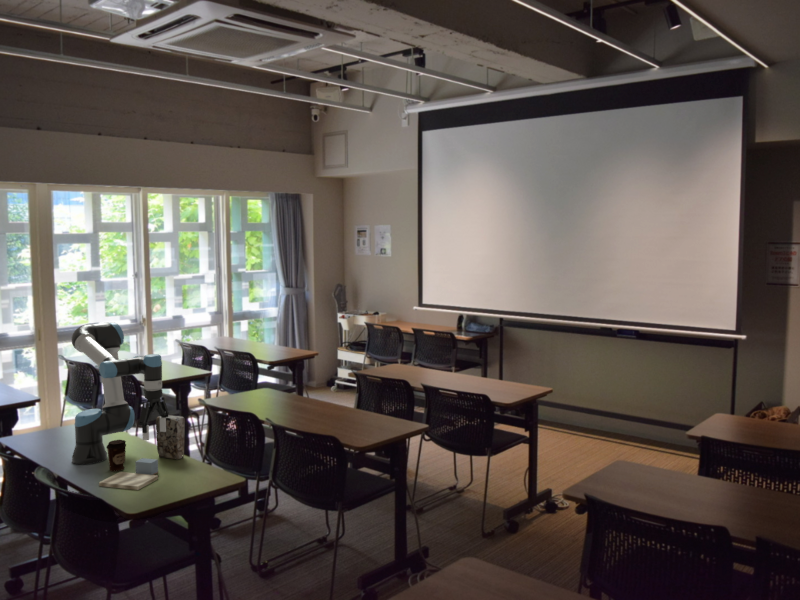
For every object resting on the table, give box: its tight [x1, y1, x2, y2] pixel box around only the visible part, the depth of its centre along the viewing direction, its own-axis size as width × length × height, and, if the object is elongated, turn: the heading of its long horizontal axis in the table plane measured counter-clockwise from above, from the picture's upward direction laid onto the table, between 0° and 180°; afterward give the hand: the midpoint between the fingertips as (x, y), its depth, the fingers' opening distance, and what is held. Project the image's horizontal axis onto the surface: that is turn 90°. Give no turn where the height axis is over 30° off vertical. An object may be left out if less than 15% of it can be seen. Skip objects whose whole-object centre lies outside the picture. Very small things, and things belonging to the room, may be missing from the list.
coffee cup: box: [105, 439, 127, 472], centre depth 304 cm, size 9×8×13 cm
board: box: [98, 471, 159, 491], centre depth 288 cm, size 19×14×2 cm
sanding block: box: [135, 457, 159, 475], centre depth 300 cm, size 8×5×6 cm, turn 76°
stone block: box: [155, 414, 186, 460], centre depth 322 cm, size 13×7×20 cm, turn 74°
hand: (154, 435), depth 302 cm, fingers open, 13 cm apart
